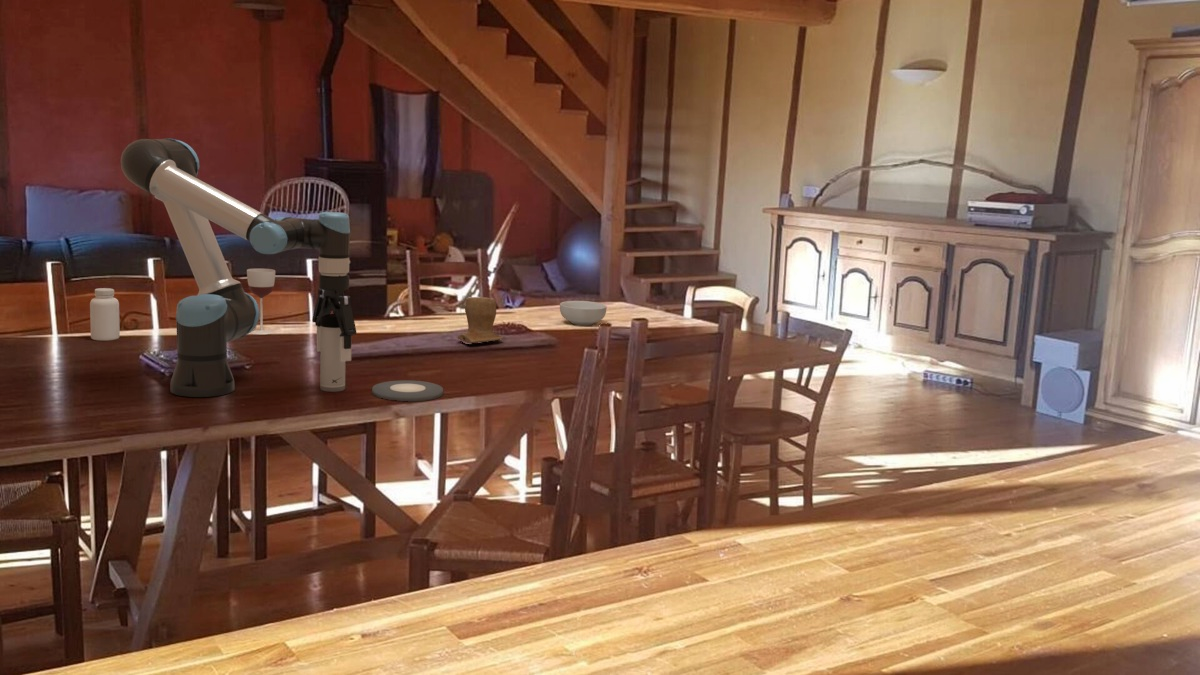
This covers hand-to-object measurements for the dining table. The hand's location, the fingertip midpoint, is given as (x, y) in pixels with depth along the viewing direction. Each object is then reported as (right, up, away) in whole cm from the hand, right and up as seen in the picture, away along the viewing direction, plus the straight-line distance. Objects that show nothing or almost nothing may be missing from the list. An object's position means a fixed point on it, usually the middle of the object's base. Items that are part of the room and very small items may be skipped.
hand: (333, 356), depth 280 cm
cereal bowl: (+62, +10, +117) cm, 133 cm away
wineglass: (-40, +6, +70) cm, 81 cm away
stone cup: (+29, +3, +72) cm, 78 cm away
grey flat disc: (+19, -10, +2) cm, 21 cm away
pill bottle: (-80, +4, +47) cm, 93 cm away
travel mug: (-1, -9, +2) cm, 9 cm away
